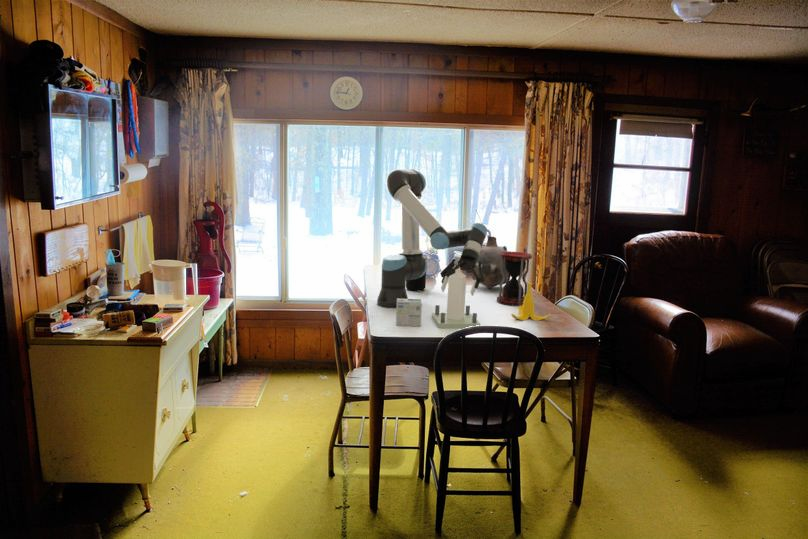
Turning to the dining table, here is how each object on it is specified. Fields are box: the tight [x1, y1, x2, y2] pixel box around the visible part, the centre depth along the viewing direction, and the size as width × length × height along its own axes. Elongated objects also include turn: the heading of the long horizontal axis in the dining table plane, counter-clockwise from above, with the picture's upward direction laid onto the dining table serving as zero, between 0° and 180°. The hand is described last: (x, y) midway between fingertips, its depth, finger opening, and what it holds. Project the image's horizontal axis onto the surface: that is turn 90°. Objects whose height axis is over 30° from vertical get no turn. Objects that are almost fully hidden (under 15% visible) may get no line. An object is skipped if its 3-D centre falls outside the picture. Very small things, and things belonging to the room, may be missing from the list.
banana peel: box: [510, 282, 552, 321], centre depth 291 cm, size 16×19×17 cm
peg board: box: [431, 304, 481, 329], centre depth 279 cm, size 18×18×6 cm
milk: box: [446, 267, 467, 321], centre depth 277 cm, size 6×6×22 cm
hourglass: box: [496, 250, 533, 307], centre depth 323 cm, size 16×16×25 cm
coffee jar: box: [405, 255, 428, 292], centre depth 345 cm, size 11×11×18 cm
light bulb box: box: [395, 298, 423, 327], centre depth 273 cm, size 11×7×11 cm, turn 92°
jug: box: [471, 234, 508, 289], centre depth 355 cm, size 24×21×30 cm
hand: (456, 291), depth 276 cm, fingers open, 13 cm apart
